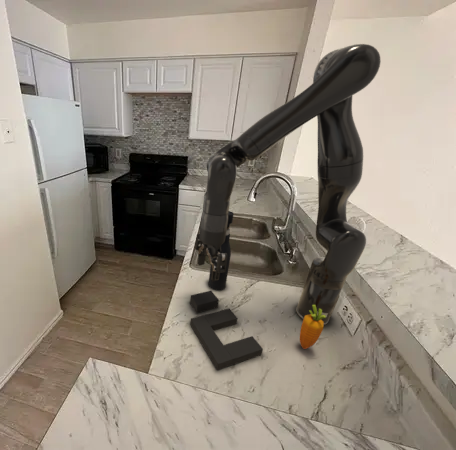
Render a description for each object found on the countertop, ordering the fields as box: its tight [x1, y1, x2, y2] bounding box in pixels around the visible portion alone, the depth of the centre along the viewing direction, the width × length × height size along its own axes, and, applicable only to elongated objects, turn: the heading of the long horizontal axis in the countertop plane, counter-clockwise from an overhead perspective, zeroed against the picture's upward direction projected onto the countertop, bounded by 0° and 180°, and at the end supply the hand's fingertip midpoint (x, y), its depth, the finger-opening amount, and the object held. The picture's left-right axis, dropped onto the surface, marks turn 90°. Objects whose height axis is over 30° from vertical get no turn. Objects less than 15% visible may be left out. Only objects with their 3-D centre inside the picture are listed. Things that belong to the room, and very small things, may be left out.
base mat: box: [189, 307, 264, 371], centre depth 74 cm, size 14×16×2 cm
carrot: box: [299, 305, 326, 350], centre depth 69 cm, size 5×5×15 cm
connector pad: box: [189, 290, 220, 314], centre depth 86 cm, size 8×5×4 cm, turn 109°
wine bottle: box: [208, 210, 234, 292], centre depth 90 cm, size 6×6×30 cm
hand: (207, 271), depth 80 cm, fingers open, 8 cm apart
